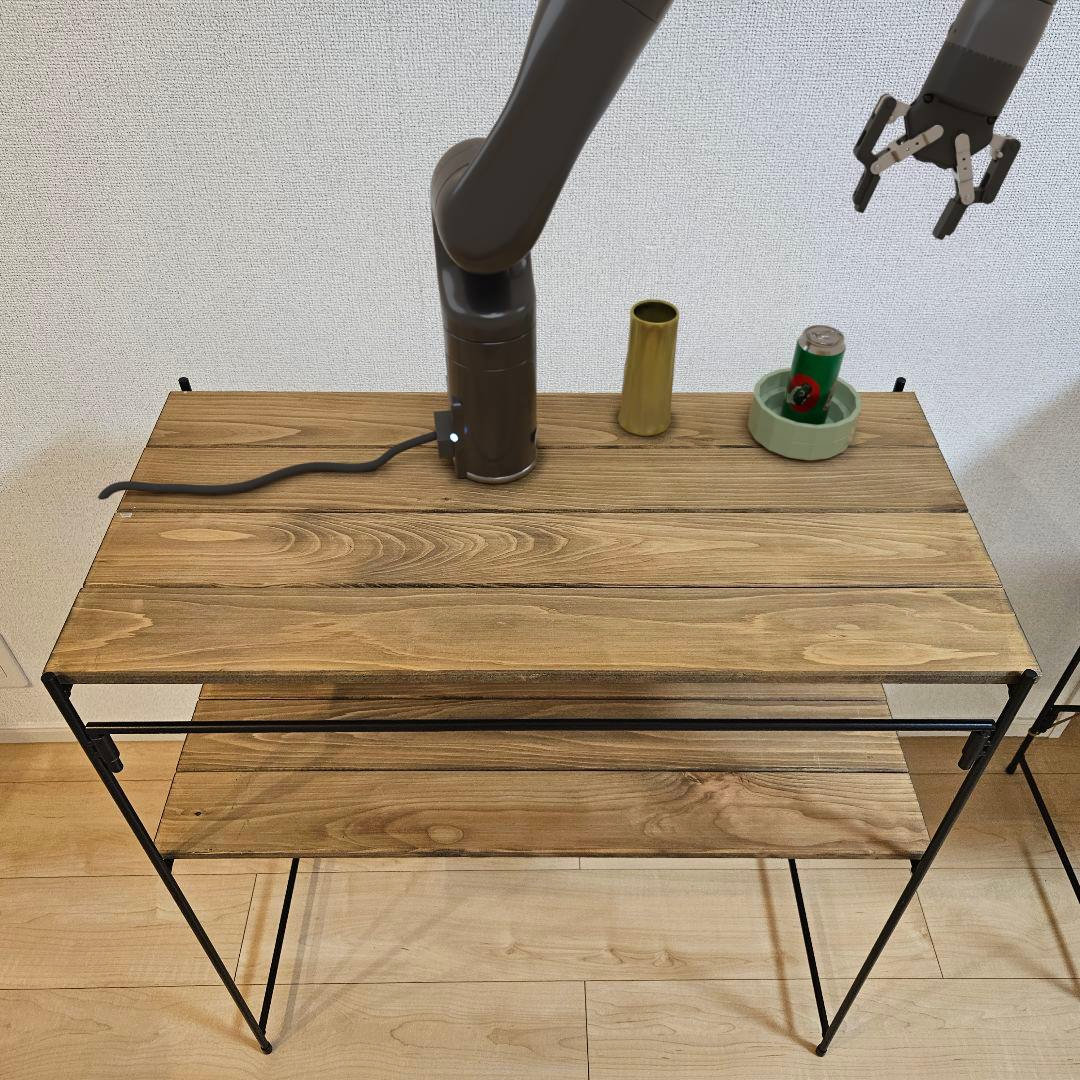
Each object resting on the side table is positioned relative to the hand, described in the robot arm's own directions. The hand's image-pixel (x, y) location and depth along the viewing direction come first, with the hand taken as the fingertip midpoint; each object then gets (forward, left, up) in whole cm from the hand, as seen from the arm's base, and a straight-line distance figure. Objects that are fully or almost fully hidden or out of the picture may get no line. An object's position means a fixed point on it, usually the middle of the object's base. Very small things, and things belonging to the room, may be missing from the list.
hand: (897, 224), depth 90 cm
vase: (-24, +1, -23) cm, 33 cm away
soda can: (-7, -4, -22) cm, 24 cm away
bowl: (-7, -4, -23) cm, 24 cm away
